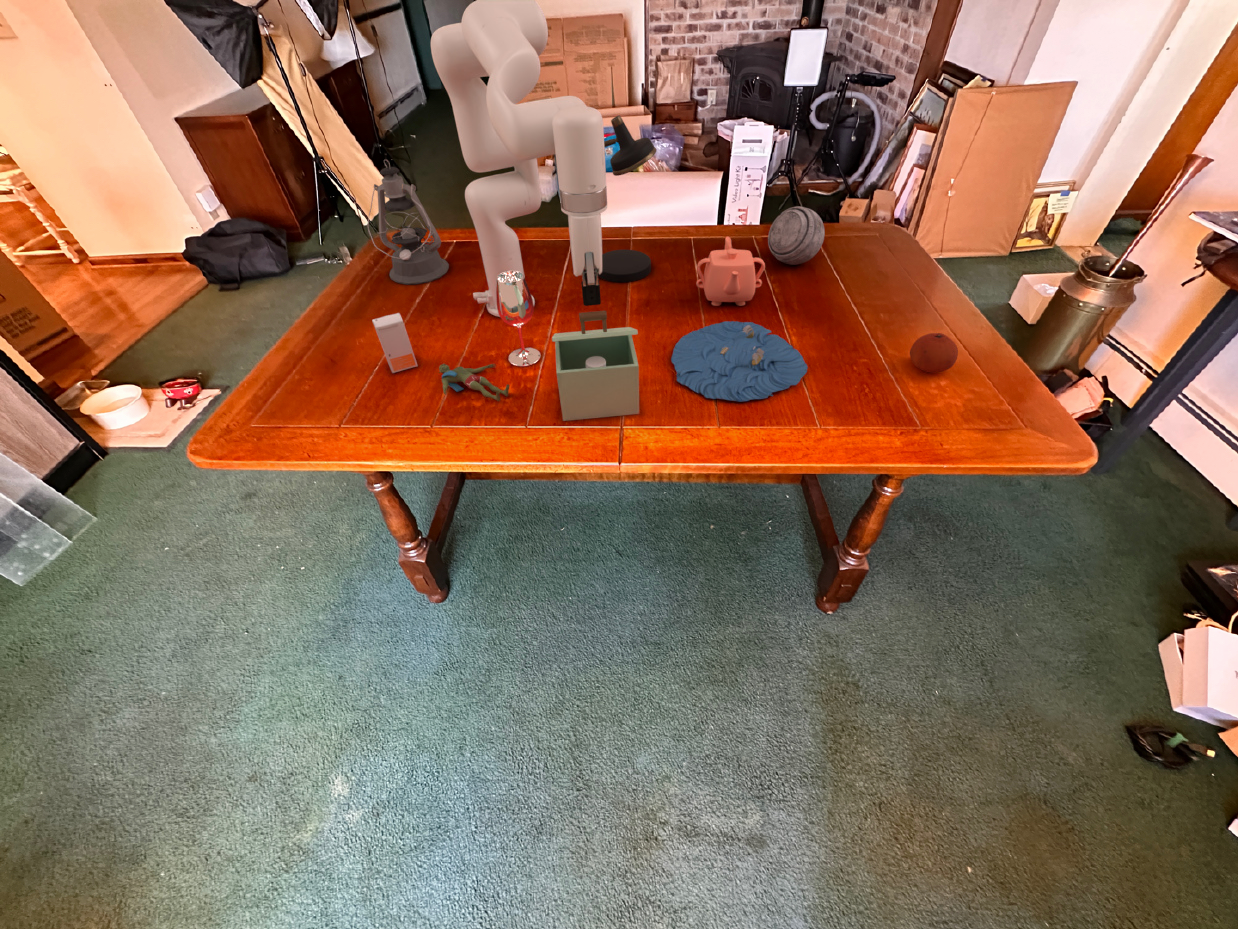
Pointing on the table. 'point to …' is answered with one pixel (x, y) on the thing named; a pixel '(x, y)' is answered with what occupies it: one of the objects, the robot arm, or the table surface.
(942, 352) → the fruit
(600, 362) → the pill bottle
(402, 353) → the cosmetic box
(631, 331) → the lid
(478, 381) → the figurine
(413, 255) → the lantern
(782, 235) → the decorative orb
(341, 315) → the table surface
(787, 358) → the blue flat rumpled sheet
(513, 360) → the wineglass
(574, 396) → the chest
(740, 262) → the teapot
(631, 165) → the lamp
